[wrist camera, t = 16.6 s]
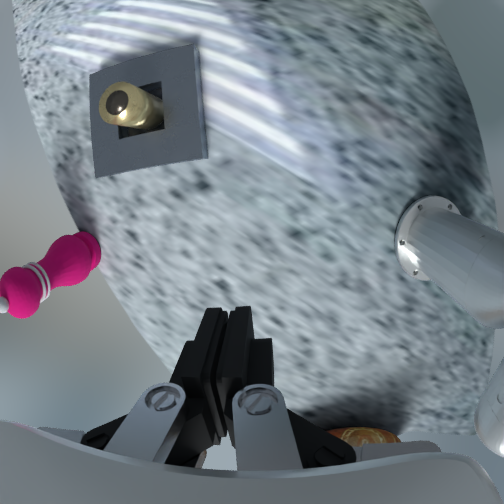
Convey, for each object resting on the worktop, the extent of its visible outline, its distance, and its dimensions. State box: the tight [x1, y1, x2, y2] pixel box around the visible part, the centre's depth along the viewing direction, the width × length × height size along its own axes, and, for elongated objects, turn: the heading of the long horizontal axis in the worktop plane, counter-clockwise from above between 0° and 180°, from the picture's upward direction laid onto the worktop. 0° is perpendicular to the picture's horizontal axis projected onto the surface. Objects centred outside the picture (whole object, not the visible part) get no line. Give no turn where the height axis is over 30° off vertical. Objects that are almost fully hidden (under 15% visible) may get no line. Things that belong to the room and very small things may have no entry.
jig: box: [90, 44, 208, 178], centre depth 32 cm, size 15×15×3 cm
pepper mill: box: [0, 231, 101, 318], centre depth 30 cm, size 7×7×20 cm
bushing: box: [99, 82, 164, 130], centre depth 29 cm, size 5×5×9 cm
